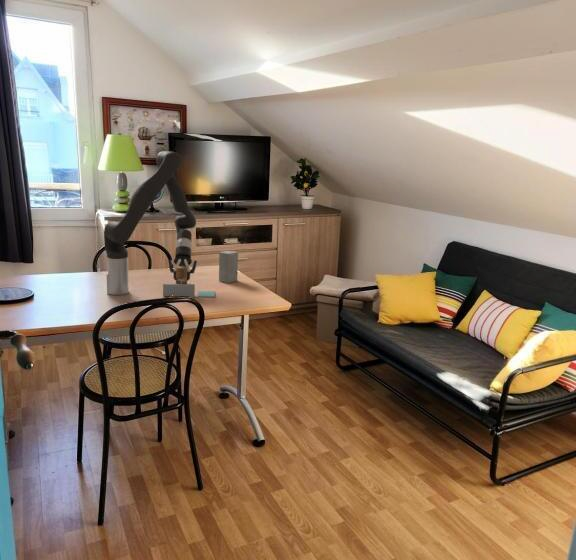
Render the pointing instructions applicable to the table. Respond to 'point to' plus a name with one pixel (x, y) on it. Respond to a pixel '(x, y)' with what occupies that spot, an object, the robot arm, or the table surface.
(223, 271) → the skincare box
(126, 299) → the table surface
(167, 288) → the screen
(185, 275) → the marked block
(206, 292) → the pad
